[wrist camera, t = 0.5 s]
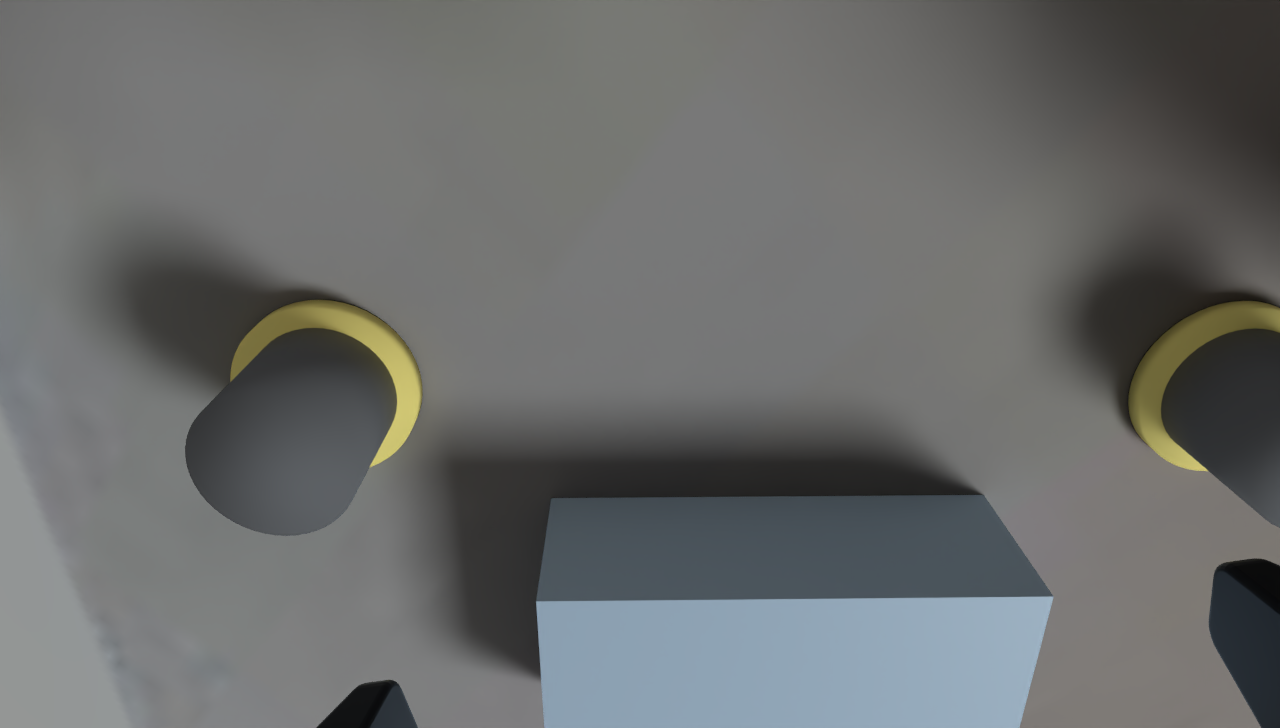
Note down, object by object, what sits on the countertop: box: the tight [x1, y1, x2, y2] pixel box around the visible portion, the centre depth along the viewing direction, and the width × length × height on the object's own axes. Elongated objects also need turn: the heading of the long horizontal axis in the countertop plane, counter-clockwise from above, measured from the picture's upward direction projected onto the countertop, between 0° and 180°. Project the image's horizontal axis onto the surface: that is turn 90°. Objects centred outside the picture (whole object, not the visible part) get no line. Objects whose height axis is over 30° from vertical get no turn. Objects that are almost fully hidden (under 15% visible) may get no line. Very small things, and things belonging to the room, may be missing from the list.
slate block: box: [536, 495, 1053, 728], centre depth 23 cm, size 12×7×4 cm, turn 90°
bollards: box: [185, 300, 1280, 536], centre depth 20 cm, size 28×5×4 cm, turn 90°
